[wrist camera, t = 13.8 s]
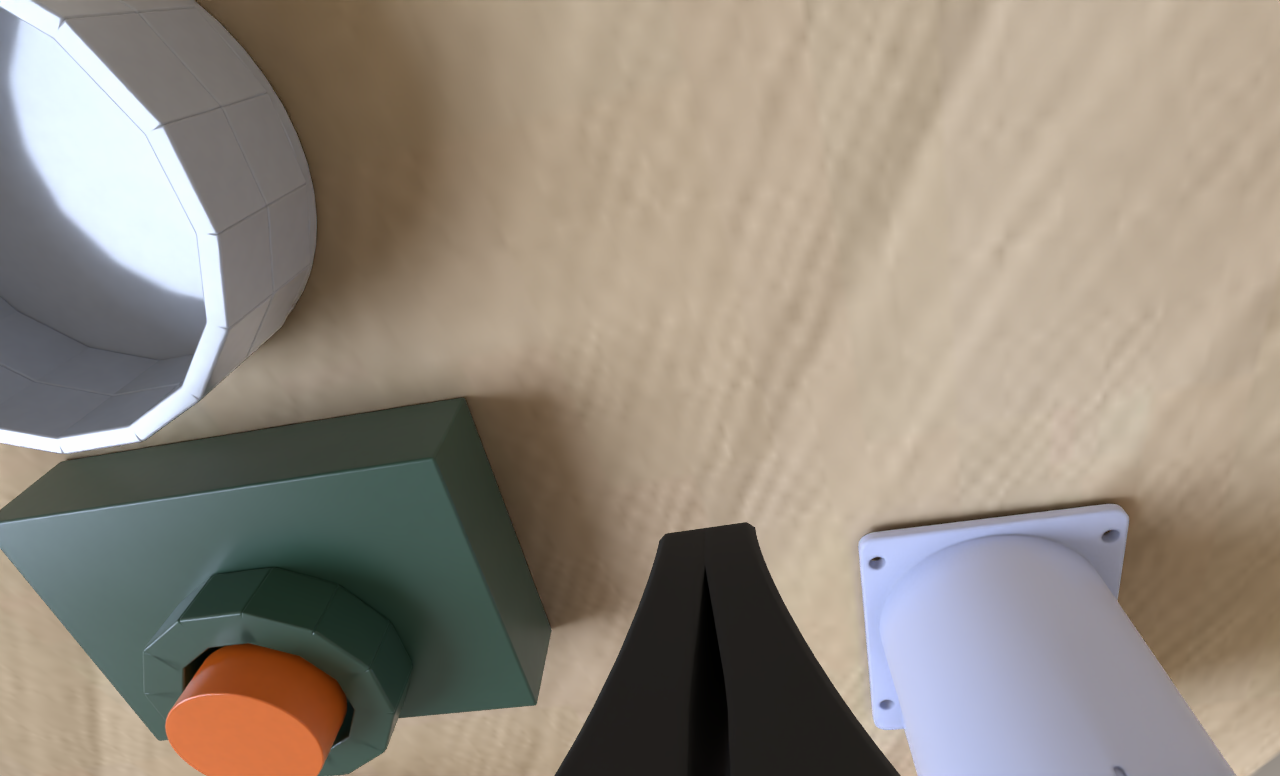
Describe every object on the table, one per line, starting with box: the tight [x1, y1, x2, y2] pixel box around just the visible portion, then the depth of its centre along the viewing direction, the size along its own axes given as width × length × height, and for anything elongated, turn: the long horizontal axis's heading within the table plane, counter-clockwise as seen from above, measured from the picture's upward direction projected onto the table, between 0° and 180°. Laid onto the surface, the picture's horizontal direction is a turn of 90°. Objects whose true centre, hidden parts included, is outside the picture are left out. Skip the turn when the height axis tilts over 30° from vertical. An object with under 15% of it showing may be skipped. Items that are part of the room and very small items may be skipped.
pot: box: [0, 0, 317, 454], centre depth 17 cm, size 11×11×5 cm
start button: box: [165, 643, 347, 776], centre depth 21 cm, size 4×4×2 cm
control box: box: [0, 398, 551, 776], centre depth 23 cm, size 10×14×5 cm
